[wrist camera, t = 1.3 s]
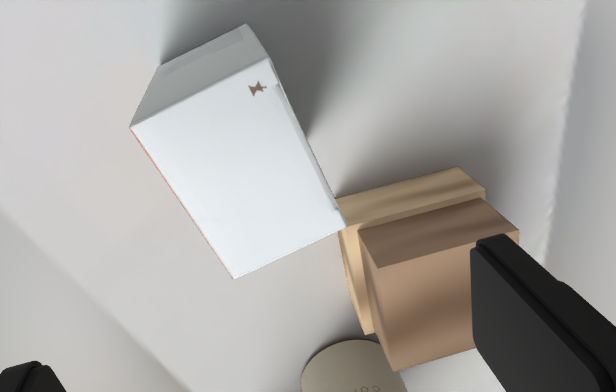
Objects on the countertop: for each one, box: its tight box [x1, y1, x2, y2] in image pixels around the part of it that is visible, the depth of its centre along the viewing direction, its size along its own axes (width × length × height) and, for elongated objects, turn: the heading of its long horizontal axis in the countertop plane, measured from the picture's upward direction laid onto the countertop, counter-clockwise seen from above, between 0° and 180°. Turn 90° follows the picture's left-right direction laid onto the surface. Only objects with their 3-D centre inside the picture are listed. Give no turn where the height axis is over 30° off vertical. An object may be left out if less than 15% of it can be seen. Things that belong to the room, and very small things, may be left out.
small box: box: [129, 24, 347, 279], centre depth 22 cm, size 8×6×10 cm
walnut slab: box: [357, 197, 519, 372], centre depth 28 cm, size 8×8×4 cm
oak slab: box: [336, 167, 486, 335], centre depth 31 cm, size 9×9×4 cm
